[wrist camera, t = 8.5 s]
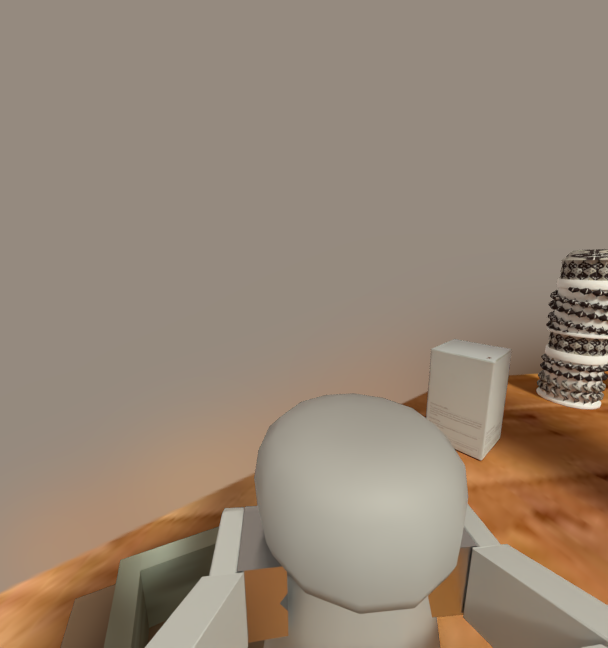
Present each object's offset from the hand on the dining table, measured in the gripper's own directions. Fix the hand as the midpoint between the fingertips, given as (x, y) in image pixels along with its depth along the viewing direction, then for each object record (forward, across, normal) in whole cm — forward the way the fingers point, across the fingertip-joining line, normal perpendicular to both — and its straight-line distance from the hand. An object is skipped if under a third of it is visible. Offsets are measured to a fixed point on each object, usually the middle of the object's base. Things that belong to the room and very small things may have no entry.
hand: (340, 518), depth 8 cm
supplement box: (+27, -23, +17) cm, 40 cm away
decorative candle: (+36, -49, +17) cm, 63 cm away
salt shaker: (-1, 0, +10) cm, 10 cm away
